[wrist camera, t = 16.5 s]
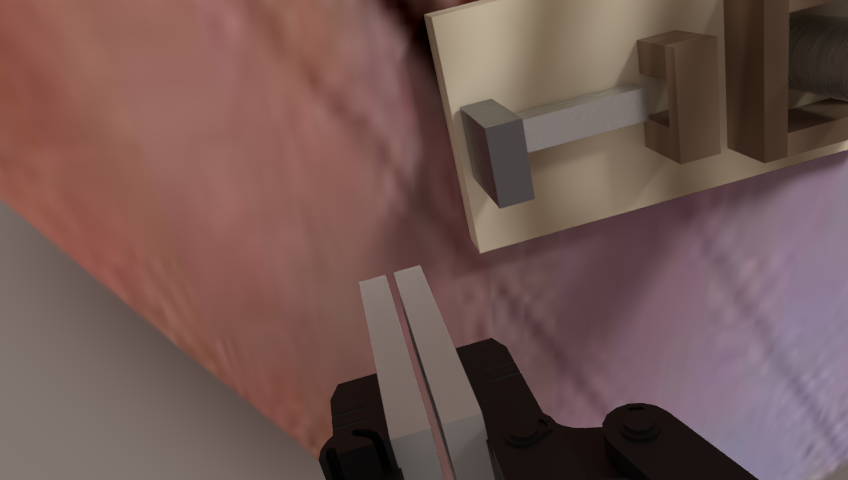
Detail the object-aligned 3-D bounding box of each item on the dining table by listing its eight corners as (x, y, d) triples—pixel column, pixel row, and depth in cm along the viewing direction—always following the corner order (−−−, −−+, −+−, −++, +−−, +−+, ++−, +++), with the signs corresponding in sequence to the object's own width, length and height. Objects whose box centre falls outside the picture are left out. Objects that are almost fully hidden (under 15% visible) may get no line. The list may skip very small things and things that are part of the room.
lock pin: (630, 61, 31) (681, 76, 27) (636, 133, 33) (686, 157, 29) (459, 107, 31) (484, 128, 27) (473, 177, 32) (500, 208, 28)
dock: (882, -101, 33) (985, -114, 28) (867, 127, 38) (953, 151, 33) (423, 14, 31) (447, 22, 26) (470, 239, 36) (498, 281, 31)
